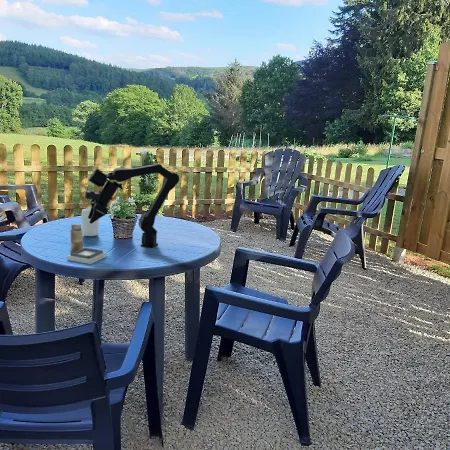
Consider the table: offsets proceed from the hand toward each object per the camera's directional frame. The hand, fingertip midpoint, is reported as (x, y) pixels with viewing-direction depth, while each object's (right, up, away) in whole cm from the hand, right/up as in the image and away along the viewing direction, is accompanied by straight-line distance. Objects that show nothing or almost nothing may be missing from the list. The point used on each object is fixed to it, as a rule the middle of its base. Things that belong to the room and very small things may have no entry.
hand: (89, 220), depth 196 cm
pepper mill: (-6, -14, +1) cm, 15 cm away
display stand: (+2, -17, -9) cm, 19 cm away
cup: (-7, -8, +25) cm, 27 cm away
